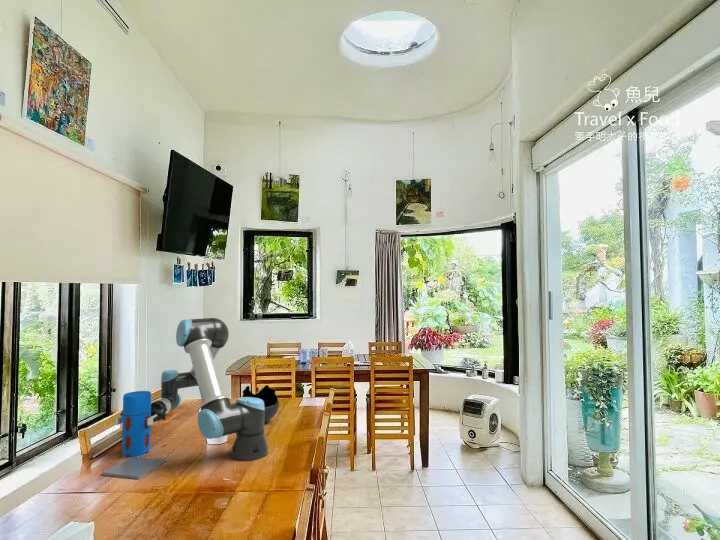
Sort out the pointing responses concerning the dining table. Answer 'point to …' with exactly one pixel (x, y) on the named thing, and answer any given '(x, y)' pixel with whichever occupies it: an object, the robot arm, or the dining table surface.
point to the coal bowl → (265, 400)
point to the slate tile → (134, 467)
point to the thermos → (136, 423)
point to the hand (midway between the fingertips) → (132, 422)
